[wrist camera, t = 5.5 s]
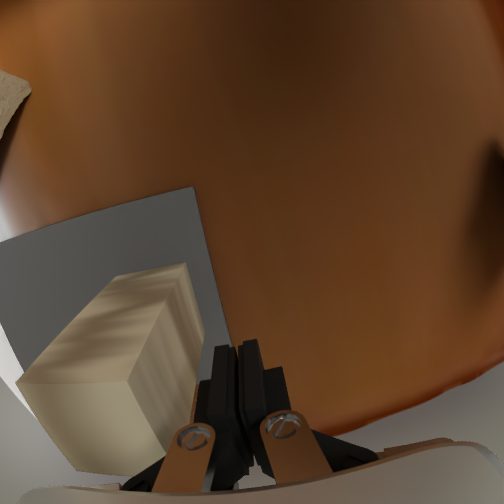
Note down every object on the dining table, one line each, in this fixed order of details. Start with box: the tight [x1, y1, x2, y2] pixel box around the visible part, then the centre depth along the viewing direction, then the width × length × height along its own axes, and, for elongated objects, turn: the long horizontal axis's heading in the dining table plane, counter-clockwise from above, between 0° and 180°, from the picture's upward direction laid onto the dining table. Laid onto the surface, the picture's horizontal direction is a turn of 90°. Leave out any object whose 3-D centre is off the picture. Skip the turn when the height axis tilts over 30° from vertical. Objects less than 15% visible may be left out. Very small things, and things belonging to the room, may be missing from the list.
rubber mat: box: [0, 186, 233, 385], centre depth 21 cm, size 20×14×1 cm
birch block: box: [16, 262, 205, 476], centre depth 15 cm, size 5×5×12 cm
